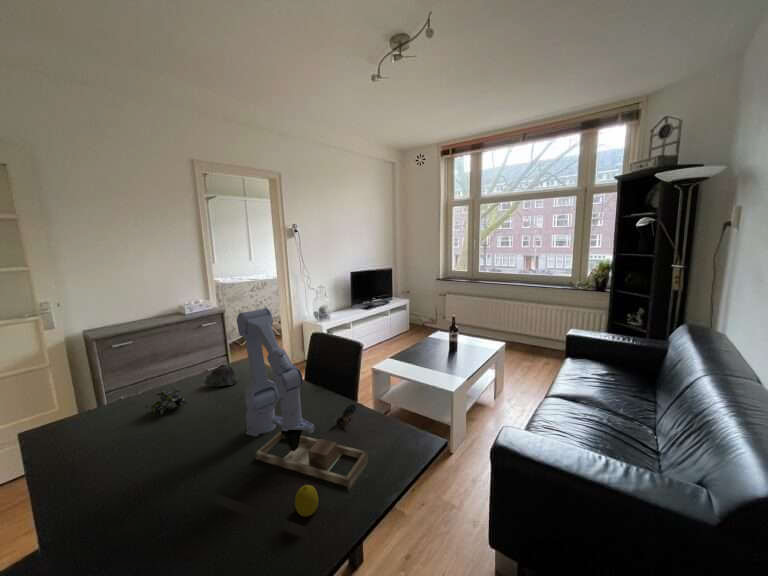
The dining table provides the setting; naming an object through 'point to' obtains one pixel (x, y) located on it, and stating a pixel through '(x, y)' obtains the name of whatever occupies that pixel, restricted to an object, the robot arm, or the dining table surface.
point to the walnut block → (323, 454)
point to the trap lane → (300, 460)
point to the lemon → (306, 500)
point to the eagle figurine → (346, 416)
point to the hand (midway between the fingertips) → (294, 448)
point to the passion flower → (169, 398)
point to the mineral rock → (222, 376)
